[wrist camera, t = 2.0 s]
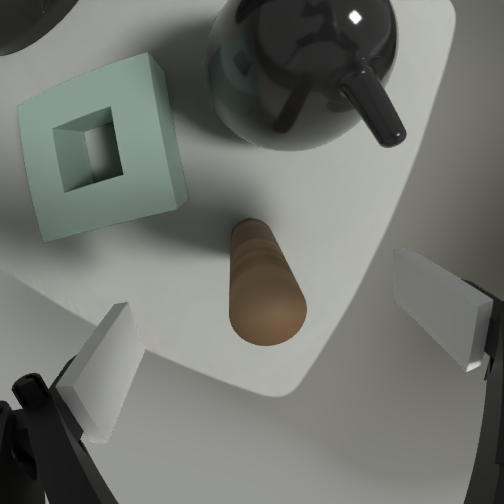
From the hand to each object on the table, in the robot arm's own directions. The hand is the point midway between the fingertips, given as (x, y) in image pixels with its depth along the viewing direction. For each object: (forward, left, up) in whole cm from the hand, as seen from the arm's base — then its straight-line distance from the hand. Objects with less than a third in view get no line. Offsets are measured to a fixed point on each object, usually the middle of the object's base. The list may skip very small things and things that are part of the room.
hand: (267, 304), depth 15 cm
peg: (0, 0, -10) cm, 10 cm away
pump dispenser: (-11, +4, -11) cm, 16 cm away
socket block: (-9, -9, -10) cm, 17 cm away
